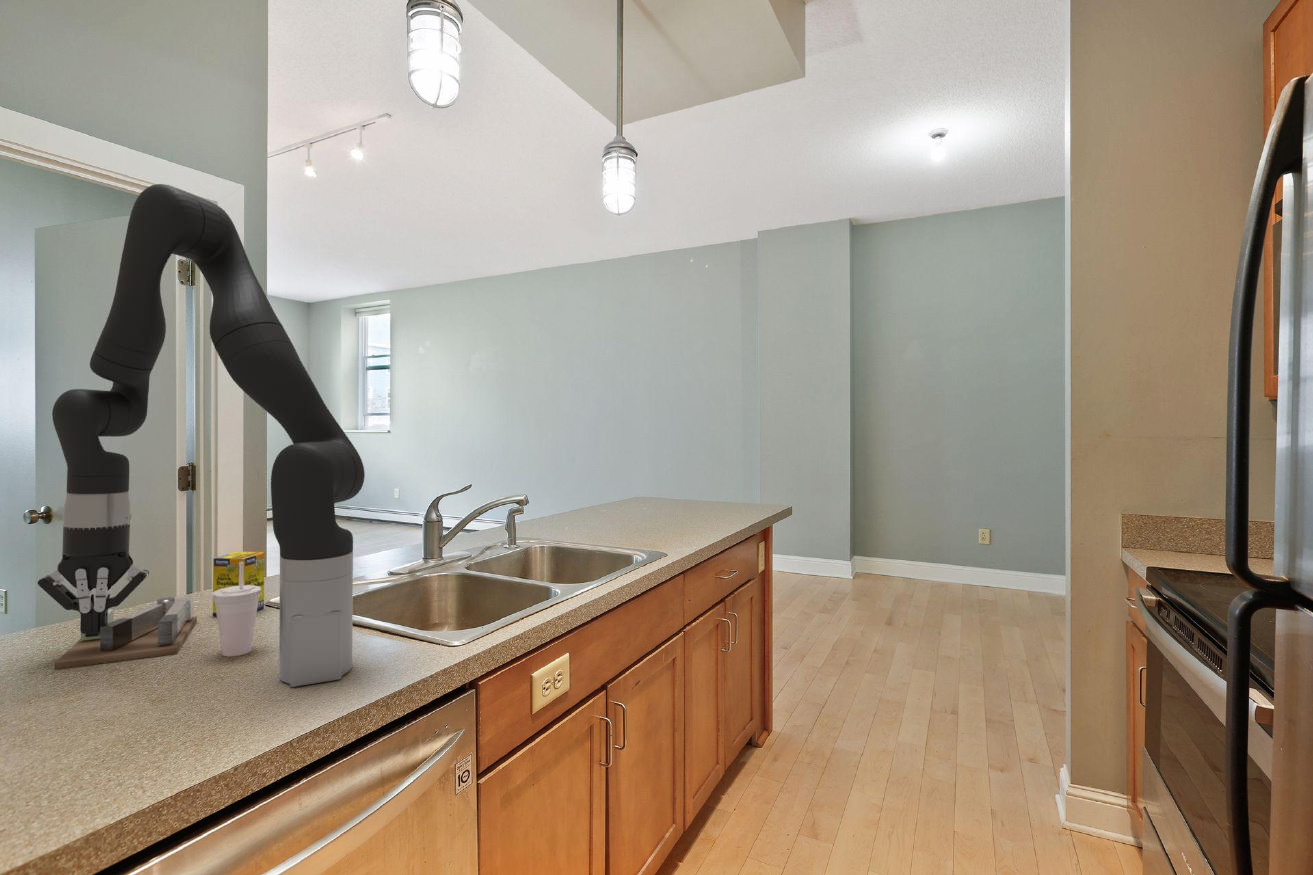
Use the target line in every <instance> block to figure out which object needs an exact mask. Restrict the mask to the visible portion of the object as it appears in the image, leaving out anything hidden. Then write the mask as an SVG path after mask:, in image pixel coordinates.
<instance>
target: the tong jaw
mask: <svg viewBox="0 0 1313 875" xmlns="http://www.w3.org/2000/svg"><path fill="white" fill-rule="evenodd" d="M162 617H163V604H158V605H157V604H151V605H149V606H146V607H143V608H142V609H140V610H137V611H135V612H132V613H130V614H128V615H126V616H123V617H121V618H118V619H115V620H113V622H110V623H108V624H106V625H103V626H101V627H100V651H104V650H114V649H116V648H118V647H121V646H123V645H125V644H127V643H129V642H131V641H132V640H134V639H136V638H138V637H140V636H142V635H144V634H146V633H148V632H150V631H152V630H154V629H156V628H158V622H159V621H160V620H161V618H162Z"/></svg>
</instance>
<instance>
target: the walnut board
mask: <svg viewBox="0 0 1313 875" xmlns="http://www.w3.org/2000/svg"><path fill="white" fill-rule="evenodd" d="M197 617H198V615H193V618H192V619H191V620H190V621H187V622H186V623H185V625H184V626H183V628H182V629H181V631H180V632H179V634H178V635H177V637H176V639H175V640H174V642H173V643H172V644H169V645H161V646H158V628H156V629H154V630H152V631H150V632H148V633H146V634H144V635H142V636H140V637H138V638H136V639H134V640H132V641H131V642H129V643H127V644H125V645H123V646H121V647H118V648H116V649H114V650H104V651H100V639H92V640H83V641H81V638H79V640H77V642H75V644H73V645H72V646H71V647H70V648H69V649H68V650H67V651H66V652H65V653H63V655H61V656H60V657H59V658H58V659H57V660H56V661H55V662H54V664H53V665H54V670H55V671H57V670H64V669H71V668H70V667H72V668H78V667H84V665H87V666H92V665H91V664H95V665H100V664H99V663H102V664H105V663H104V662H110V663H116V662H115V661H118V662H123V661H122V660H126V661H130V659H133V660H136V659H135V658H141V659H146V658H147V657H149V658H157V657H163V656H171V655H177V654H178V652H179V651H180V649H181V648H182V647H183V645H184V643H185V641H186V640H187V639H188V637H189V635H190V634H191V631H192V630H193V629H194V627H195V625H196V623H197V622H198V620H197V619H198V618H197Z"/></svg>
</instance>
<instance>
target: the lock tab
mask: <svg viewBox="0 0 1313 875" xmlns="http://www.w3.org/2000/svg"><path fill="white" fill-rule="evenodd" d="M113 621H114V608H113V609H112V608H109V609H108V623H110V622H113ZM80 639H81V641H83V640H92V639H100V635H99V636H94V637H86V636H85V634H82V633H81V632H80Z"/></svg>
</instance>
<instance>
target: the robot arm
mask: <svg viewBox="0 0 1313 875" xmlns="http://www.w3.org/2000/svg"><path fill="white" fill-rule="evenodd" d="M122 249H123V250H122V252H121V258H120V264H119V271H118V274H117V275H118V276H117V279H116V280H117V282H116V285H115V286H116V287H115V292H114V296H113V300H112V304H111V306H110V307H111V308H110V309H109V314H108V316H107V318H106V322H105V324H104V326H103V328H102V330H101V333H100V336H99V338H98V340H97V343H96V345H95V347H94V350H93V352H92V354H91V357H90V359H89V367H90V368H89V369H90V370H91V371H92V373H94V374H95V375H97V376H98V377H99V378H102V379H104V380H107V381H109V382H112V386H111V389H110V390H101V389H87V388H86V389H85V388H72V389H69V390H67V391H65V392H63V393H61V395H59V397H58V398H56V401H55V402H54V404H53V407H52V412H51V413H52V414H51V416H52V422H53V427H54V430H55V433H56V435H57V438H58V441H59V445H60V447H61V450H62V453H63V457H64V460H65V463H66V467H67V468H66V469H67V470H66V494H65V495H66V496H65V500H64V506H63V516H62V517H63V519H62V521H63V522H62V523H63V524H62V525H63V526H62V551H61V552H62V553H61V555H62V557H61V560H60V562H59V563H58V565H57V570H55V571H54V572H51V573H50V574H48V575H47V574H46V575H45V576H43V577H42V578H40V579H39V580H38V581H37V585H38V587H40V588H41V589H42V590H43V591H45V592H46V594H48V595H49V596H50V597H51V598H52V599H53V600H54V601H55V602H57V603H58V604H59V605H60V606H61V607H62V608H64V610H66V611H71V610H72V611H77V612H78V613H79V614H80V621H79V622H80V630H79V631H80V634H81V633H82V634H85V636H86V637H94V636H99V635H100V627H101V626H103V625H106V624H108V610H109V609H112V608H113V607H114V608H116V607H118V606H120V605H121V604H122V602H124V601H125V600H126V598H128V597H129V596H130V594H132V593H133V592H134V590H136V589H137V588H138V586H139V585H140V584H142V582H143V581H144V580H145V579H146V578H148V577H149V574H150V572H149V570H148V569H141V568H140V567H139V566H138V567H137V566H136V565H134V560H133V559H132V556H131V555H130V536H131V534H130V532H131V530H130V529H131V519H132V512H131V500H130V492H129V491H130V461H129V458H128V456H126V455H125V454H121V453H118V452H111V451H107V450H105V449H104V447H103V445H102V442H101V441H100V438H99V437H112V438H113V437H127V436H130V435H133V434H135V433H136V432H138V430H140V428H141V427H142V426H143V425H144V423H145V422H146V419H147V416H148V407H149V406H148V405H149V392H150V391H149V390H150V379H151V378H150V376H151V373H152V371H153V369H154V367H155V364H156V362H157V359H158V357H159V355H160V352H161V350H162V348H163V346H164V343H165V339H166V332H167V325H166V318H165V312H164V306H163V300H162V295H161V282H162V275H163V273H164V269H165V267H166V264H167V263H168V261H169V259H170V258H171V256H172V254H173V255H176V256H179V257H183V258H186V259H190V260H191V261H192V262H193V263H194V265H196V267H197V268H198V269H199V271H200V272H201V274H202V275H203V278H204V279H205V282H206V283H207V285H208V287H209V289H210V291H211V295H212V300H213V301H212V307H211V313H210V319H209V337H210V339H211V342H212V344H213V347H214V349H215V351H216V353H217V355H218V357H219V358H220V360H221V363H222V364H223V366H224V368H225V369H226V371H227V373H228V375H229V376H230V378H231V379H232V381H234V383H235V384H236V386H238V387H239V388H240V389H241V390H242V392H244V393H245V394H246V395H247V396H248V397H249V398H250V399H251V400H253V401H254V402H255V403H256V404H257V405H258V406H260V407H261V408H262V409H263V410H265V411H266V412H267V413H268V414H269V415H270V416H272V418H274V419H275V420H276V422H278V423H279V425H280V426H281V427H282V429H283V430H284V431H285V432H286V434H287V436H288V437H289V439H290V440H291V442H292V444H289V445H288V446H286V447H285V448H283V449H282V450H281V451H280V452H279V453H278V454H277V455H276V457H275V459H274V462H273V465H272V468H271V476H270V496H271V500H270V501H271V514H272V528H273V533H274V537H275V539H276V540H277V543H278V547H279V636H278V637H279V638H278V640H279V646H278V647H279V671H278V672H279V673H278V674H279V677H278V678H279V680H280V681H282V682H283V683H285V684H289V685H290V686H289V687H291V688H294V687H300V686H301V687H302V686H306V685H312V684H317V683H318V684H319V683H325V682H331V681H337V680H341V679H342V678H343V675H346V674H347V673H349V672H350V671H351V670H352V668H353V615H354V614H353V604H354V602H353V599H354V598H353V597H354V596H353V595H354V593H353V590H354V589H353V588H354V586H353V585H354V584H353V583H354V581H353V580H354V579H353V577H354V572H353V571H354V536H353V533H352V531H351V530H348V529H347V528H343V527H341V526H339V524H338V522H337V520H336V511H335V504H336V503H341V502H345V501H348V500H351V499H352V498H354V497H356V496H357V495H358V494H359V493H360V491H361V490H362V488H363V485H364V482H365V475H366V474H365V466H364V464H363V463H364V462H363V461H362V458H361V456H360V454H359V452H358V450H357V449H356V446H354V444H353V443H352V441H351V440H350V439H349V437H348V435H347V434H346V433H345V431H344V430H343V428H342V427H341V426H340V424H339V423H338V421H337V420H336V419H335V417H334V416H333V414H332V413H331V411H330V410H329V408H328V407H327V405H326V403H325V402H324V400H323V398H322V396H321V394H320V393H319V391H318V388H317V387H316V385H315V383H314V381H313V380H312V378H311V375H309V373H308V371H307V369H306V367H305V366H304V364H303V363H302V361H301V358H300V356H299V355H298V352H297V350H296V347H295V346H294V345H293V342H292V341H291V338H290V337H289V335H288V333H287V332H286V329H285V327H284V326H283V324H282V323H281V321H280V319H279V318H278V316H277V315H276V312H275V311H274V308H273V307H272V305H271V304H270V301H269V298H267V295H266V293H265V291H264V289H263V287H262V286H261V283H260V282H259V280H258V279H257V276H256V274H255V272H254V270H253V267H252V265H251V263H250V261H249V258H248V255H247V253H246V250H245V247H244V244H243V242H242V240H241V237H240V235H239V232H238V231H237V228H236V226H235V224H234V222H233V221H232V219H231V217H230V215H229V214H228V213H227V212H226V211H225V209H223V208H222V207H221V206H219V205H218V204H216V203H214V202H213V201H210V200H208V199H205V198H204V197H200V196H198V195H196V194H194V193H192V192H188V191H186V190H183V189H181V188H178V187H175V186H173V185H169V184H166V183H156V184H153V185H149V186H147V187H145V189H144V190H142V191H141V192H140V194H139V195H138V196H137V198H136V199H135V201H134V203H133V206H132V209H131V211H130V216H129V219H128V223H127V228H126V233H125V239H124V243H123V248H122ZM126 573H127V574H128V575H127V576H126V581H127V584H126V585H125V586H124V587H123V588H122V589H121V590H120V591H119V592H118V593H117V594H116V595H115V596H113V597H111V596H112V593H113V592H112V591H113V586H115V585H116V584H117V583H118V582H119V581H120V580H121V579H122V578H123V576H124V575H125V574H126ZM65 580H66V581H67V582H68V583H69V584H70V585H71V586H72V587H73V588H74V589H76V594H77V595H76V594H74V593H73V592H72V591H71V590H70V589H69V588H67V586H65V585H64V582H65Z"/></svg>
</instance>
